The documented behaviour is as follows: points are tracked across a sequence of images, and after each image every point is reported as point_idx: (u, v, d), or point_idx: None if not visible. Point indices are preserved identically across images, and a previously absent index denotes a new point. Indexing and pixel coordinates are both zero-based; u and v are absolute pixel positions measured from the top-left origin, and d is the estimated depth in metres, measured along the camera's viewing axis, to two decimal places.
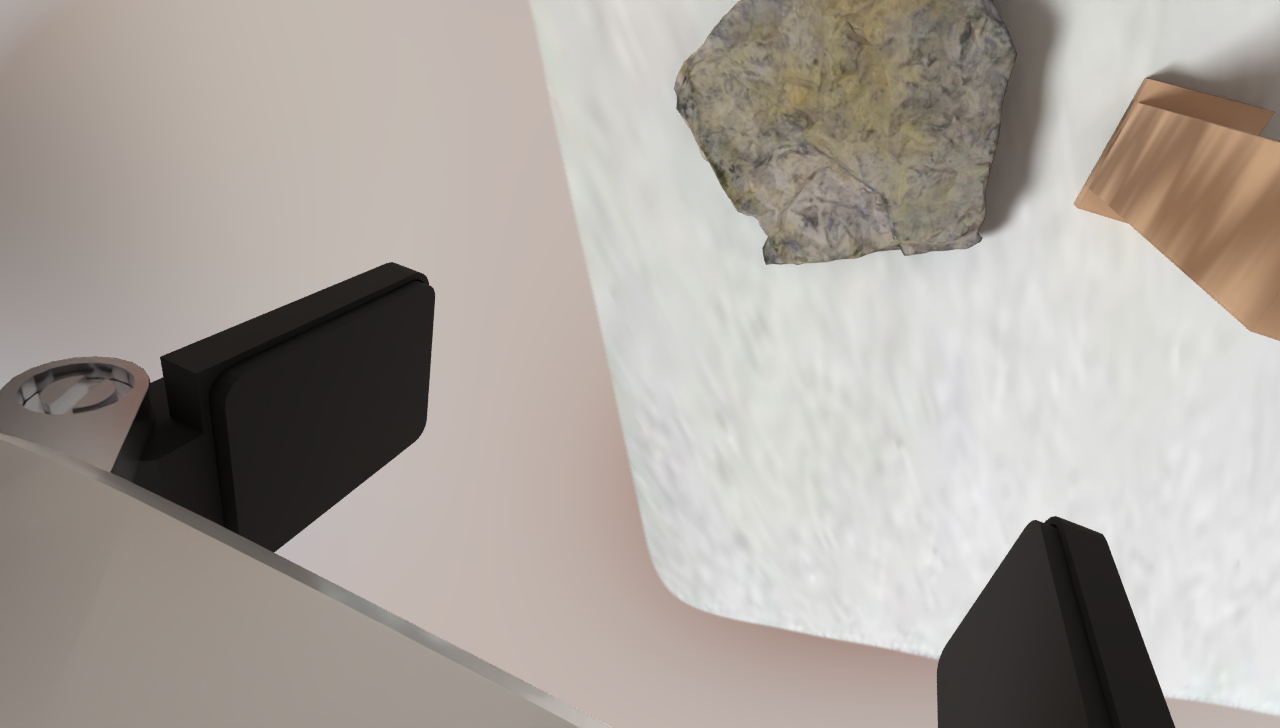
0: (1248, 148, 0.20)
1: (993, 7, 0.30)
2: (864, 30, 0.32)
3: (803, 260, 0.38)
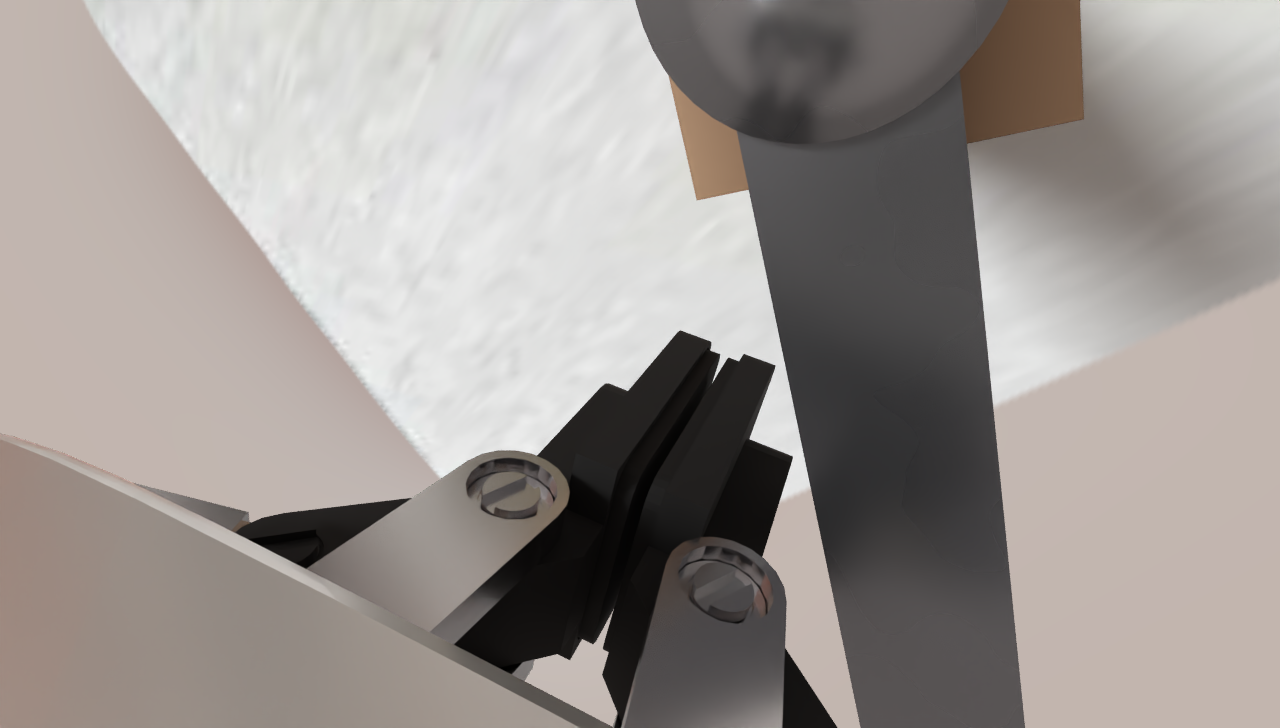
0: None
1: None
2: None
3: None
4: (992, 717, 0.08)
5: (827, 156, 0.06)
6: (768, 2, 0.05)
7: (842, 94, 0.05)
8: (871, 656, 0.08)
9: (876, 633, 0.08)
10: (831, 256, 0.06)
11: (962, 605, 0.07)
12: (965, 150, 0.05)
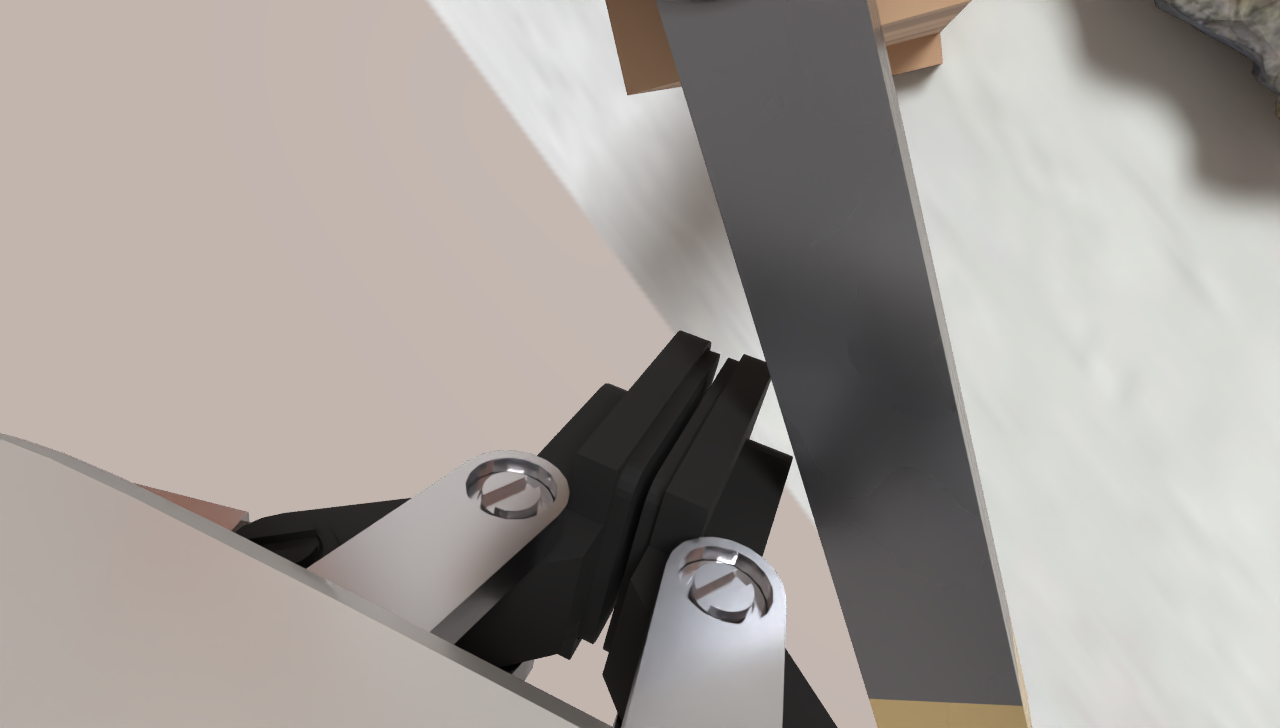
0: None
1: (1228, 35, 0.20)
2: None
3: None
4: (962, 574, 0.08)
5: (738, 11, 0.06)
6: None
7: None
8: (842, 525, 0.08)
9: (842, 500, 0.08)
10: (753, 111, 0.07)
11: (918, 456, 0.07)
12: None
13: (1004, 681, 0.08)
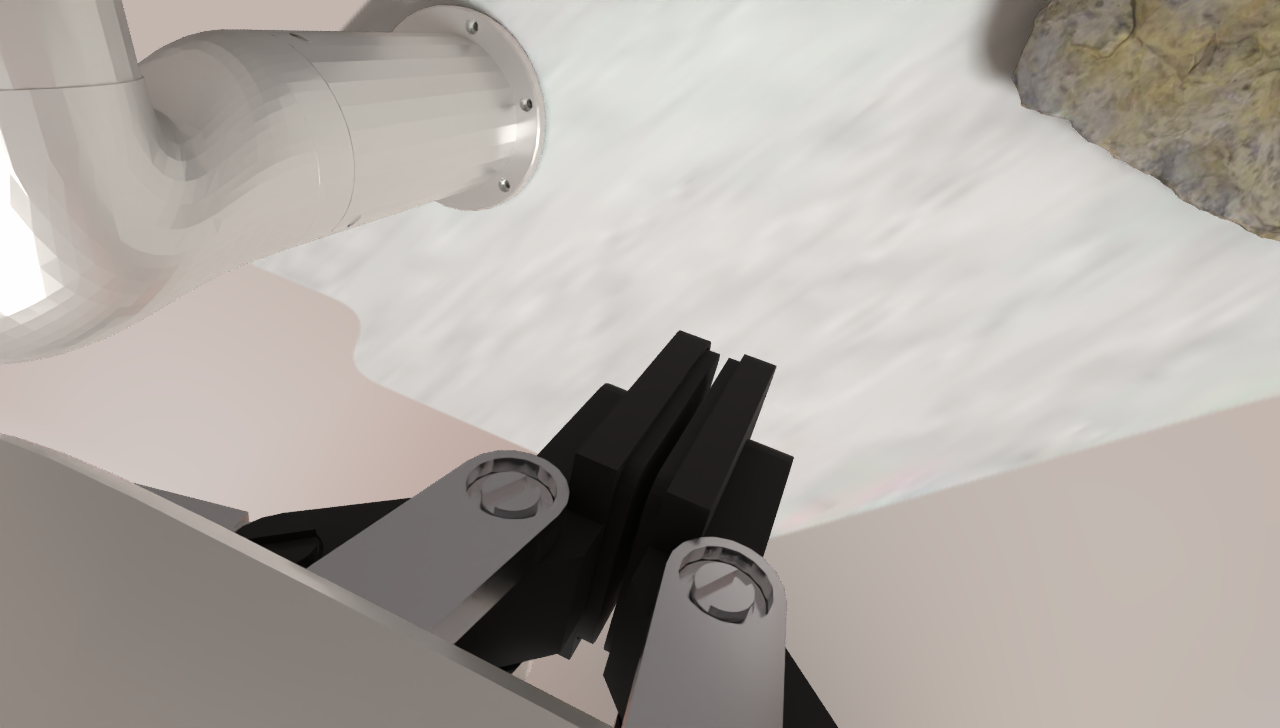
0: None
1: None
2: (1195, 51, 0.29)
3: None
4: None
5: None
6: None
7: None
8: None
9: None
10: None
11: None
12: None
13: None
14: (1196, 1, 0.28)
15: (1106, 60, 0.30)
